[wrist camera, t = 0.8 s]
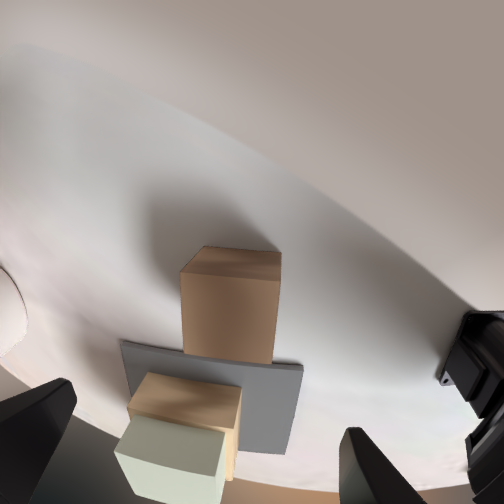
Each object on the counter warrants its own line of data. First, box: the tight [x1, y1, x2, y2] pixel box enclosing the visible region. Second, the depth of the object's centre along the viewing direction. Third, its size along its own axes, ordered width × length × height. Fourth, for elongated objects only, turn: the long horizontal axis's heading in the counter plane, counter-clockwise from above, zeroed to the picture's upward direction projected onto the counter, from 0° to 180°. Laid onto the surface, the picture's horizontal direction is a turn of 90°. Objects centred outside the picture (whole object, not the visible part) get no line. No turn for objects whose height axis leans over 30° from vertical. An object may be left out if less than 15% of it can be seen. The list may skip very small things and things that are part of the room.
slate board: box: [120, 341, 304, 455], centre depth 21 cm, size 13×10×1 cm
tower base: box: [127, 372, 242, 481], centre depth 19 cm, size 7×7×4 cm
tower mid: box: [114, 414, 226, 504], centre depth 15 cm, size 6×6×4 cm
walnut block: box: [180, 246, 281, 364], centre depth 16 cm, size 4×4×4 cm
